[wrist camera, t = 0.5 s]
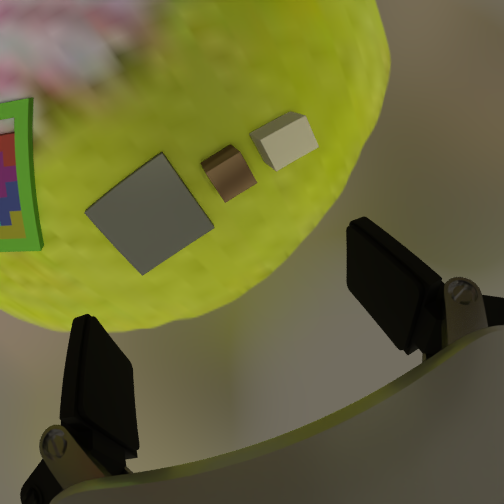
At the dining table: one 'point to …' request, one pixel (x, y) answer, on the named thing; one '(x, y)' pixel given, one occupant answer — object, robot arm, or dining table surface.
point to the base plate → (150, 215)
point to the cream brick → (284, 140)
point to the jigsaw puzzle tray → (18, 182)
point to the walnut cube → (228, 172)
